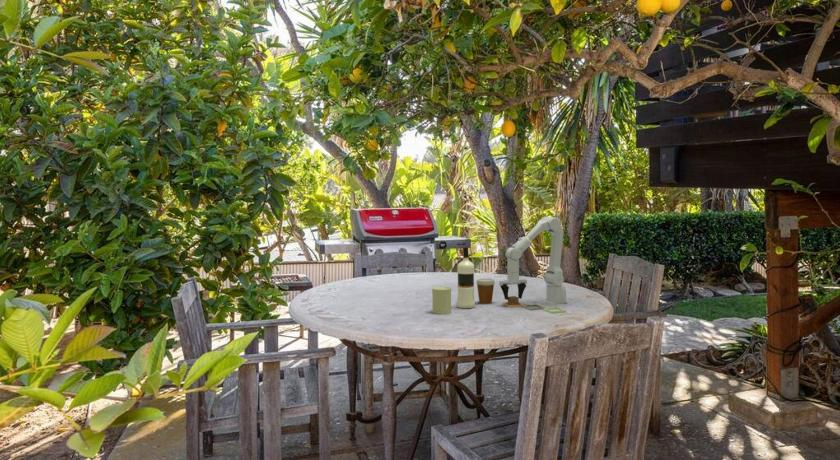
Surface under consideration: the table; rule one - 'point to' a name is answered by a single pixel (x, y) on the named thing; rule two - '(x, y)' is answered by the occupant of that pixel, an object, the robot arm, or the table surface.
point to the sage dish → (554, 310)
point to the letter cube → (513, 300)
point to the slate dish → (533, 307)
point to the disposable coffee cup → (485, 290)
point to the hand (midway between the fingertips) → (513, 298)
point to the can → (441, 300)
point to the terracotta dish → (512, 305)
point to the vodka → (465, 282)
